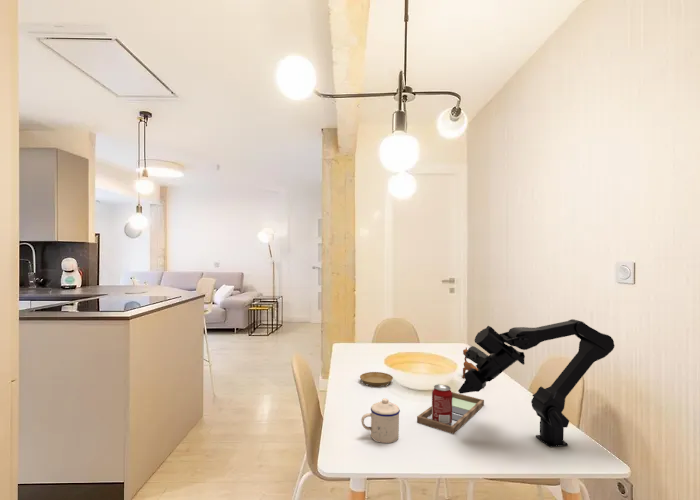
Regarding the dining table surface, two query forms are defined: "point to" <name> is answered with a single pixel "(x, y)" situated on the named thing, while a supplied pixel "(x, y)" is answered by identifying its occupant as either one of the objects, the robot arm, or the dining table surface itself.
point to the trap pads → (458, 411)
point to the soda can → (442, 404)
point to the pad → (462, 404)
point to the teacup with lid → (383, 421)
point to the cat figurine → (467, 364)
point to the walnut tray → (452, 429)
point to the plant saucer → (376, 378)
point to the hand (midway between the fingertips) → (464, 388)
